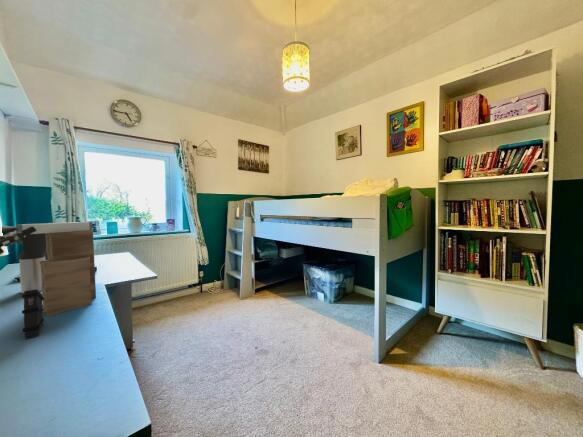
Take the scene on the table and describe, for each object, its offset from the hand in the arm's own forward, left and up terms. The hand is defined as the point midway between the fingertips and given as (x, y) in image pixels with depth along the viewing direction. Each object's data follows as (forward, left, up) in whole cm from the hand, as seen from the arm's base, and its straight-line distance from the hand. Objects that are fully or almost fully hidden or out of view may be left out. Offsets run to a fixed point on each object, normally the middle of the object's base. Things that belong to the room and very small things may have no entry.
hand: (33, 227), depth 102 cm
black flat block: (+27, -4, -35) cm, 44 cm away
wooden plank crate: (+4, +10, -34) cm, 36 cm away
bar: (0, +8, -2) cm, 8 cm away
